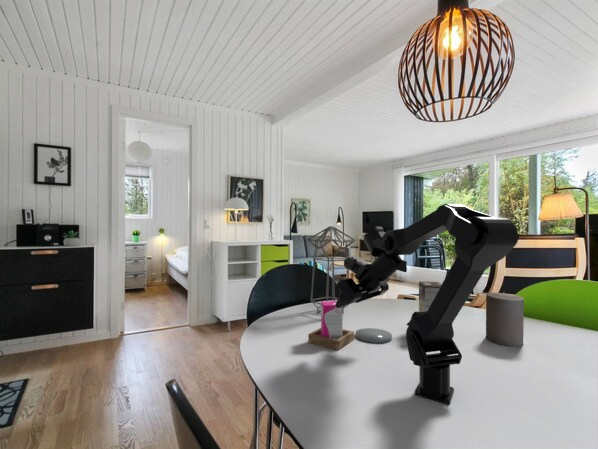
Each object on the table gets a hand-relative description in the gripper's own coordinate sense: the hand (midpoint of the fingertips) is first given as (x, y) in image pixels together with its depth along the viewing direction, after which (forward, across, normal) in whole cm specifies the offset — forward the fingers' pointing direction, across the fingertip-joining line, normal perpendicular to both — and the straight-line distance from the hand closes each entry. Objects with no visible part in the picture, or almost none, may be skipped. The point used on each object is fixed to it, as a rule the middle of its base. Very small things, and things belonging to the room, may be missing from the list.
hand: (346, 304), depth 88 cm
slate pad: (+7, -12, +10) cm, 17 cm away
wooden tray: (+12, 0, +5) cm, 13 cm away
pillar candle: (-14, -38, +31) cm, 51 cm away
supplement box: (+12, 0, +5) cm, 13 cm away
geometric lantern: (+26, -25, -9) cm, 37 cm away
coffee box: (-1, -30, +18) cm, 34 cm away
